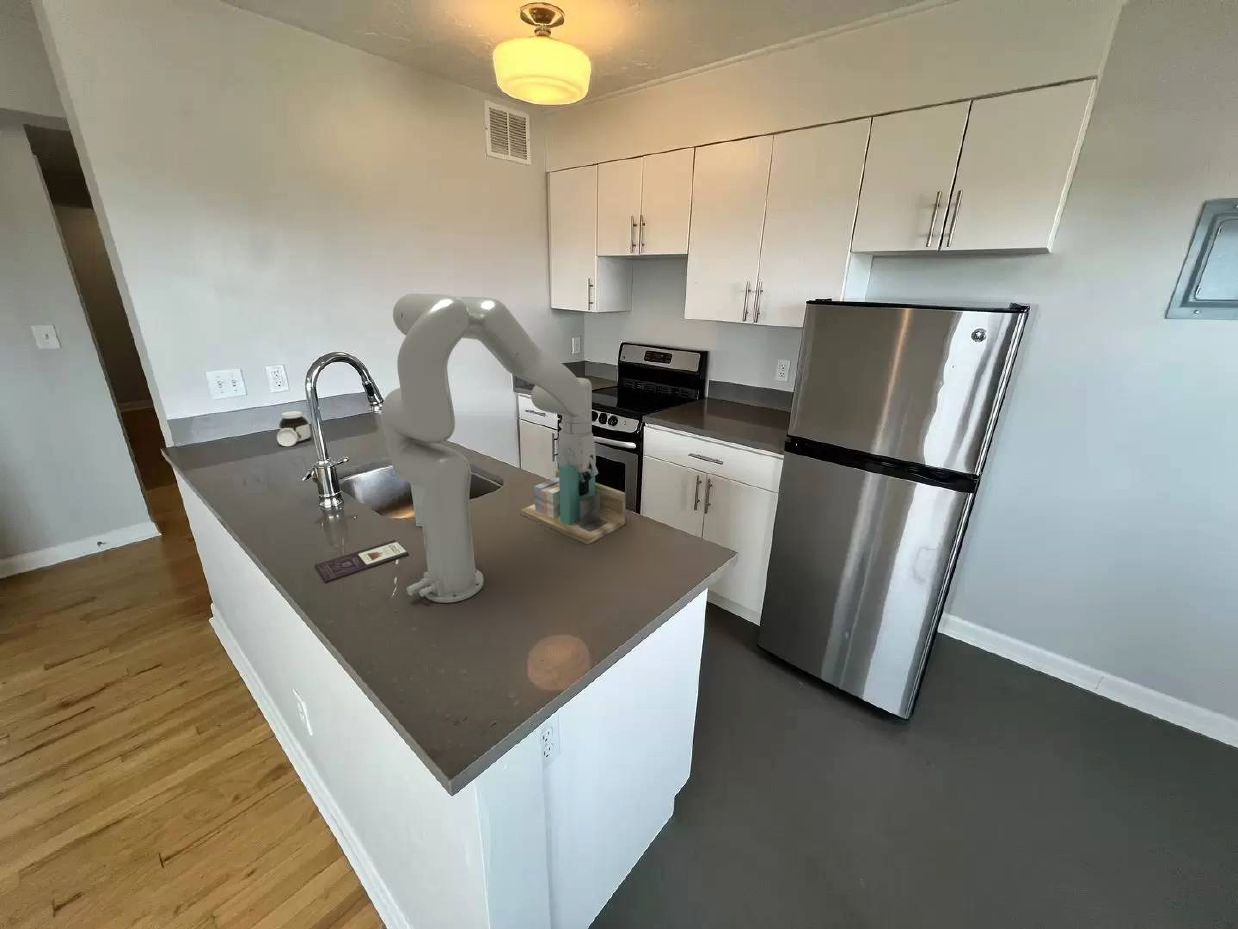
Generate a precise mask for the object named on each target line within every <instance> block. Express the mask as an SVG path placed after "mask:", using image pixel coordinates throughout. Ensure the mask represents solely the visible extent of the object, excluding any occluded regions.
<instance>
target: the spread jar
mask: <svg viewBox="0 0 1238 929" xmlns="http://www.w3.org/2000/svg"><path fill="white" fill-rule="evenodd" d="M281 417H282V419H281V420H280V421H279V424H278V426H279V431H278V432H277V434H276V439H277V442H278V443H279V445H281V446H284V447H291V446H294V445H296V444H302V443H305V442H308V440H309V439H310V438H311V435H312V434H311V428H310V424H309V421H308V419H306V418H305V417H304V416H303V412H302V411H299V410H293V411H291V410H290V411H286V412H283V413H281Z"/></svg>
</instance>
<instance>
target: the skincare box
mask: <svg viewBox="0 0 1238 929" xmlns="http://www.w3.org/2000/svg"><path fill="white" fill-rule="evenodd" d="M409 484H410V490H411V497H412V504H413V512H414V518H415V525H416V527H422V522H421V506H422V502H423V498H424V492H423V490H422V489H421V488H419V487H417V486H415V485H413V484H411V483H409Z"/></svg>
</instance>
